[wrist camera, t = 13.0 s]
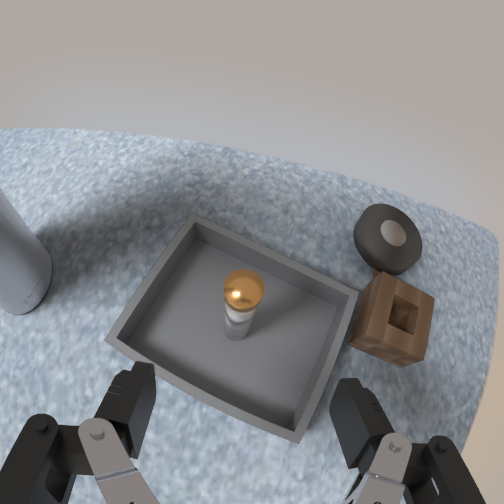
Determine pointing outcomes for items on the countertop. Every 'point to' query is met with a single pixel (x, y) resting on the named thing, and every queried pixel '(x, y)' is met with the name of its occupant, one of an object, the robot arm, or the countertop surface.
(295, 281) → the tray
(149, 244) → the countertop surface
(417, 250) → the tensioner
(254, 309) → the lock pin
